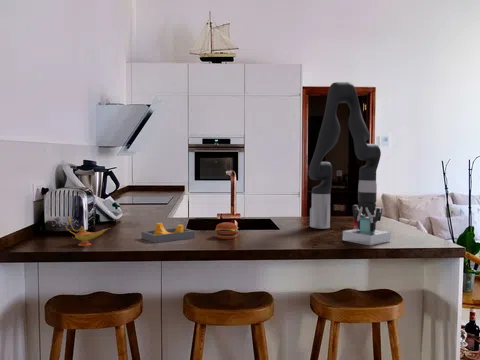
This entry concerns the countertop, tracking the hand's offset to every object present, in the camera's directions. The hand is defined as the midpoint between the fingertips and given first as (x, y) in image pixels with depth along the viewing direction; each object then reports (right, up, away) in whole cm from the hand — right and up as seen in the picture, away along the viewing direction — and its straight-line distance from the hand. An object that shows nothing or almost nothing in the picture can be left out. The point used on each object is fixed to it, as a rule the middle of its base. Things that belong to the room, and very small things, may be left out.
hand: (366, 230), depth 192 cm
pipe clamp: (-85, -4, +4) cm, 85 cm away
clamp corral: (-85, -4, +4) cm, 85 cm away
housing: (0, -4, 0) cm, 5 cm away
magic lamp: (-115, -5, -11) cm, 115 cm away
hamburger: (-60, -4, +8) cm, 60 cm away
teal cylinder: (0, -5, 0) cm, 5 cm away
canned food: (+4, -4, +21) cm, 22 cm away
